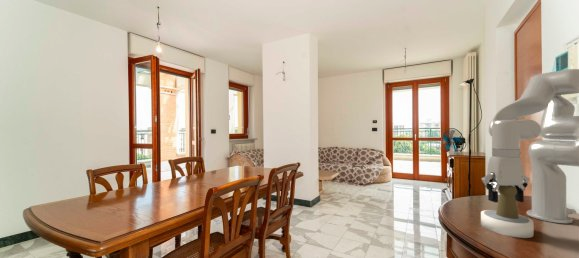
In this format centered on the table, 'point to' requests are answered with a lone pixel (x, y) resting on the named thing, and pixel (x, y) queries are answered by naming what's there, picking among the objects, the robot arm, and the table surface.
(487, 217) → the podium
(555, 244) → the table surface
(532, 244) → the table surface
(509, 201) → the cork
